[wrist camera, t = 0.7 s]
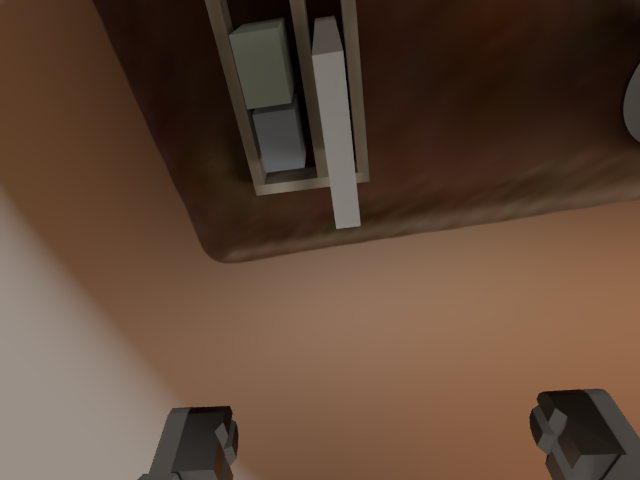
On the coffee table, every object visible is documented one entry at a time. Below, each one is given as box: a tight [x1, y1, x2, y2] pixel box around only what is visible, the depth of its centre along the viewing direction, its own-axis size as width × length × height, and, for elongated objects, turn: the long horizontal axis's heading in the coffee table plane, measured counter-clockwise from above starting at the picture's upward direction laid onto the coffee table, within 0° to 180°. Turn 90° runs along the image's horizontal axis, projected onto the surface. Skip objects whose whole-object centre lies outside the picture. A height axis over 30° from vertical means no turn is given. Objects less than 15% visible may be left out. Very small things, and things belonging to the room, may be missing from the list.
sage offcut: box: [229, 17, 295, 109], centre depth 36 cm, size 4×6×7 cm, turn 8°
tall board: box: [312, 15, 361, 229], centre depth 33 cm, size 2×12×18 cm, turn 8°
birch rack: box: [205, 0, 370, 196], centre depth 40 cm, size 13×20×3 cm, turn 8°
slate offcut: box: [252, 93, 306, 173], centre depth 41 cm, size 4×6×6 cm, turn 8°
